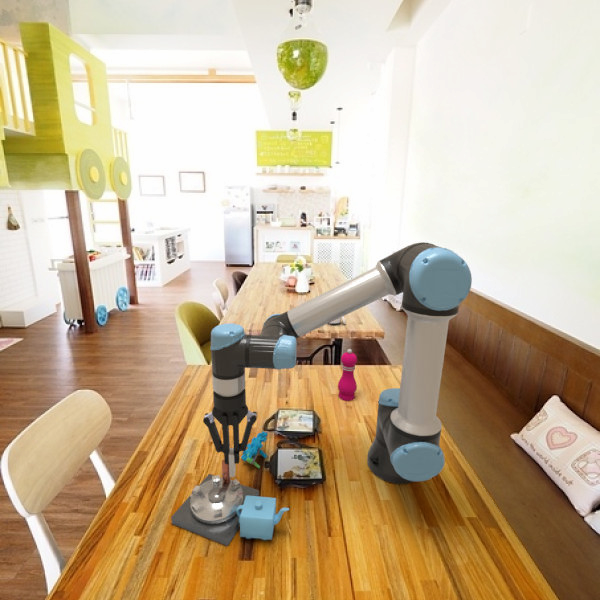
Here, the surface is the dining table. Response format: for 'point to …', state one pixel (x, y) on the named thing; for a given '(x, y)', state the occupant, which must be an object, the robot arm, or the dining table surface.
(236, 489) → the grey rounded piece
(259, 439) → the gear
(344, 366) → the pepper mill
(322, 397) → the dining table surface
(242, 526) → the teapot
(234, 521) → the base plate
